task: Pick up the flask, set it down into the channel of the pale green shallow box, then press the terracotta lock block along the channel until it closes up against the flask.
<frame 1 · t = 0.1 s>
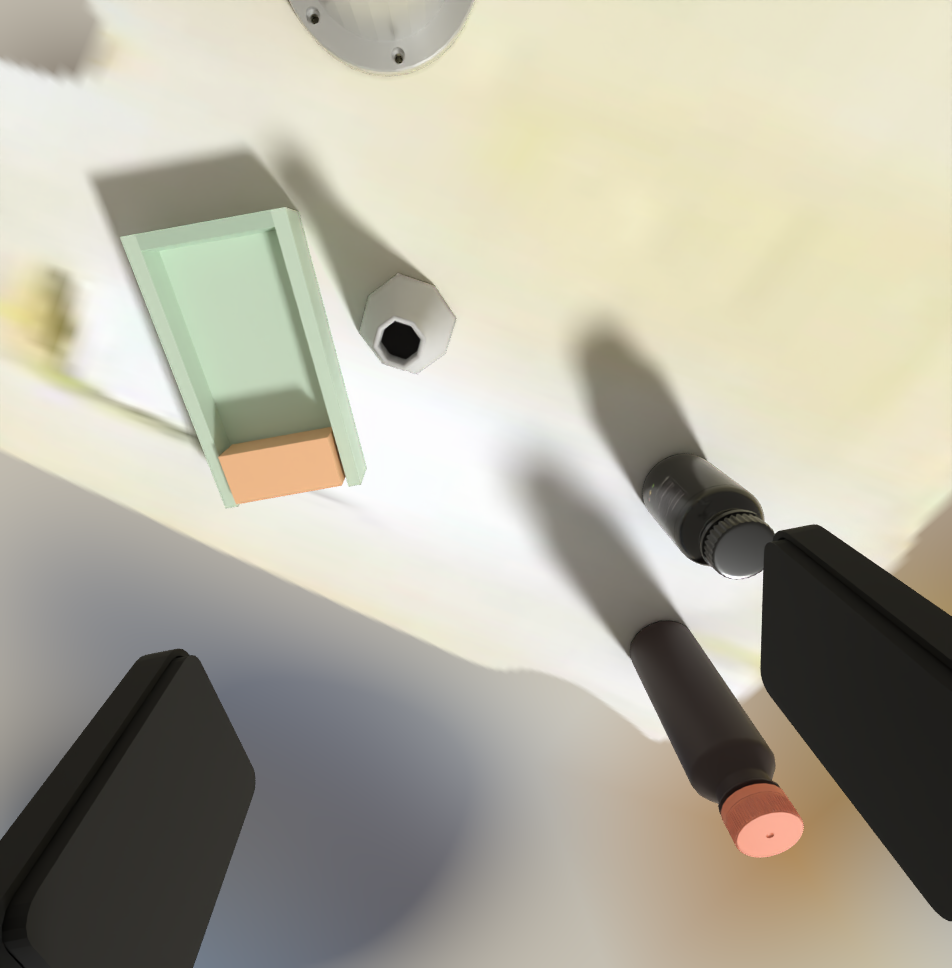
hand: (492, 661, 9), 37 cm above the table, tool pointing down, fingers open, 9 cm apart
flask: (408, 324, 42), on the table
pale green shallow box: (267, 363, 42), on the table
supplement bottle: (675, 485, 49), on the table
lock block: (286, 464, 42), point 3 cm above the table, slide at 0.0 cm
vinegar: (659, 644, 56), on the table
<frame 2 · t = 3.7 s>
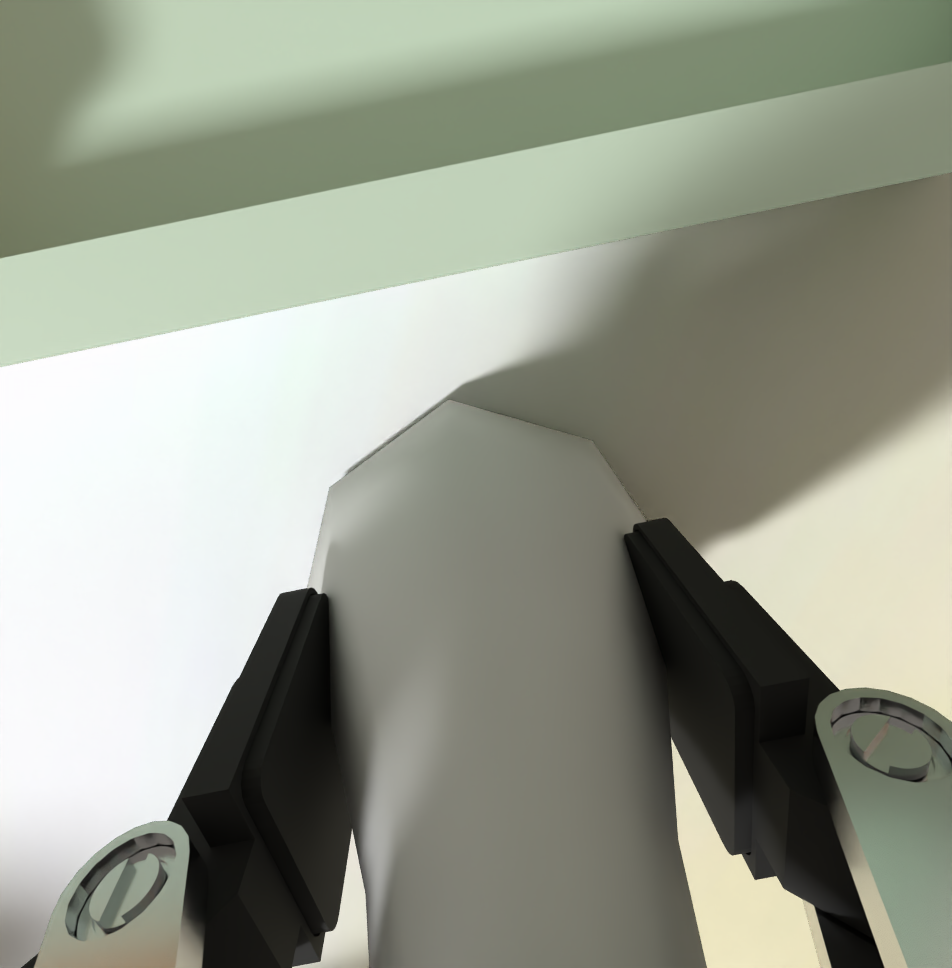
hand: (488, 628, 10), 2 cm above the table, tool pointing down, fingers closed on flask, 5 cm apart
flask: (480, 564, 12), on the table, touching gripper
when the fingers open (5 cm above the table, at t = 8.4 s): flask drops 2 cm, resting on pale green shallow box.
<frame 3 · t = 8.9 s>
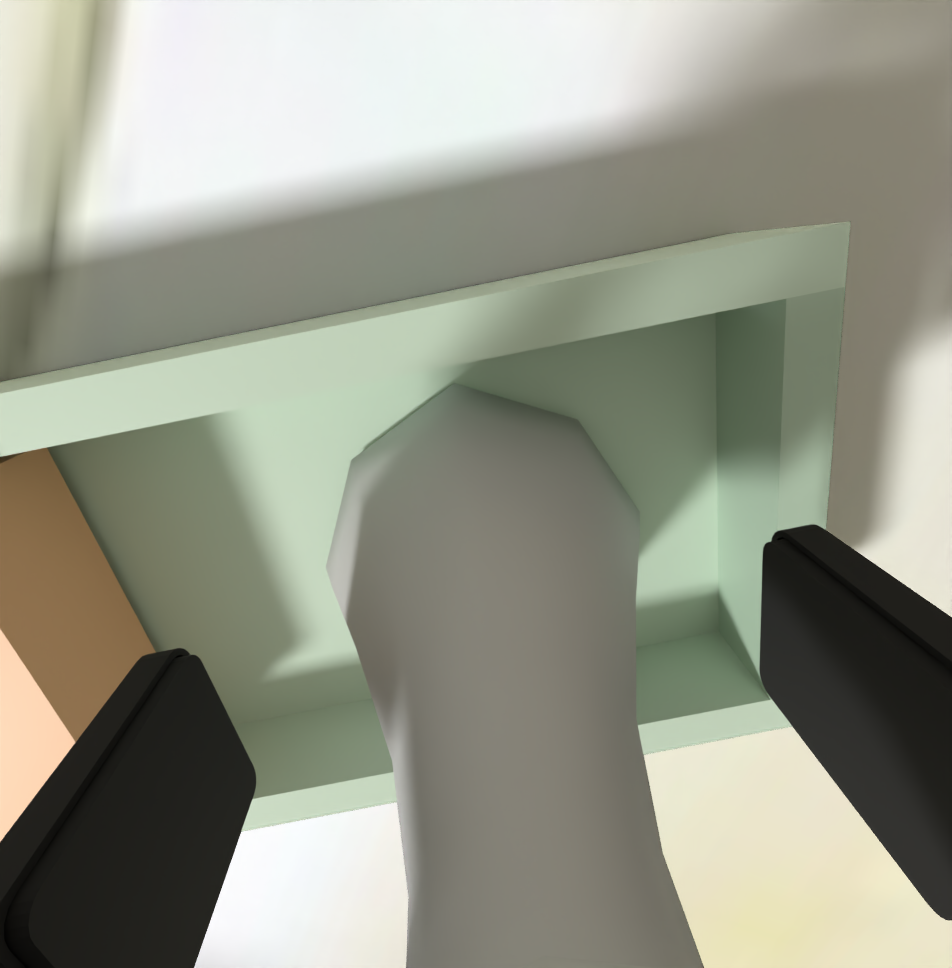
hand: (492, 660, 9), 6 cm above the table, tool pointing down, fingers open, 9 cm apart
flask: (481, 530, 13), point 1 cm above the table, touching pale green shallow box
pale green shallow box: (361, 532, 14), on the table
lock block: (4, 664, 12), point 3 cm above the table, slide at 0.0 cm
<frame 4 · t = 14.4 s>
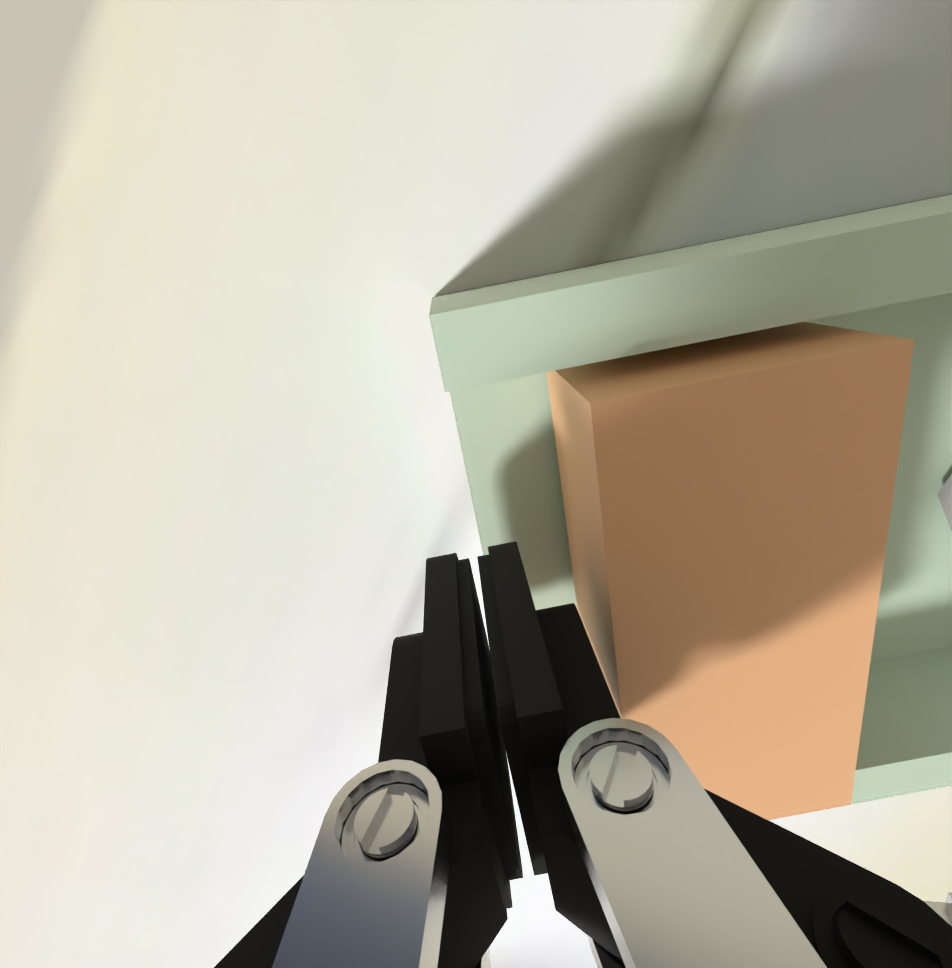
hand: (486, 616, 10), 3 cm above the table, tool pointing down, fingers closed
pale green shallow box: (912, 462, 12), on the table
lock block: (701, 588, 10), point 3 cm above the table, slide at 1.2 cm, touching gripper
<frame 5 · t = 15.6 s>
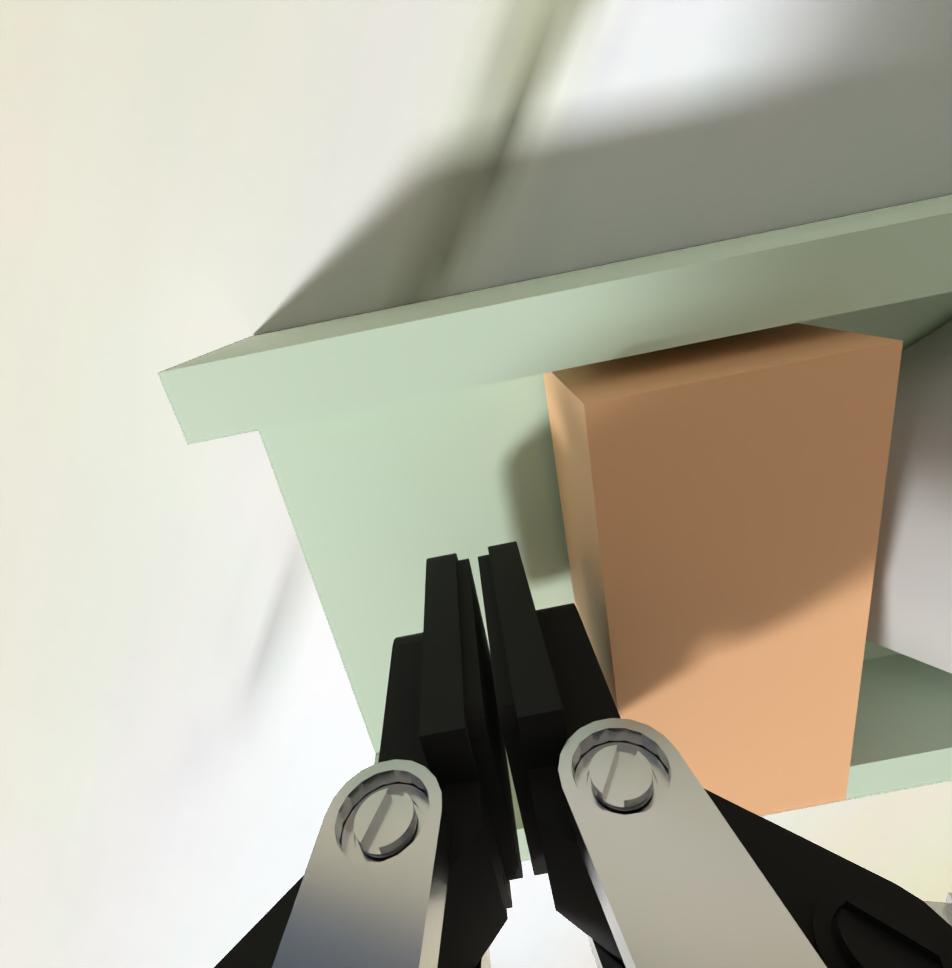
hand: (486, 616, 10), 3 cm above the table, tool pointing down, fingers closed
flask: (924, 485, 11), point 1 cm above the table, touching pale green shallow box
pale green shallow box: (754, 491, 12), on the table
lock block: (697, 586, 10), point 3 cm above the table, slide at 4.8 cm, touching gripper
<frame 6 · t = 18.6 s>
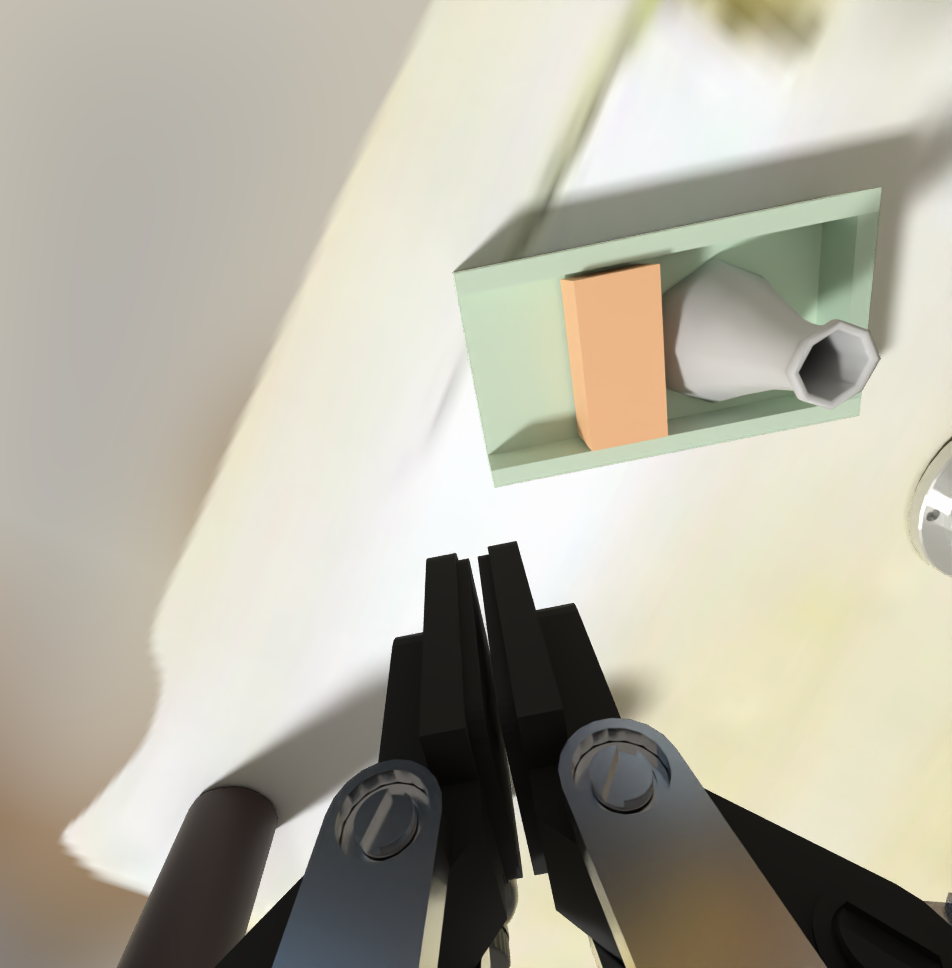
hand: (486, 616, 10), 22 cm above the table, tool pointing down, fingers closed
flask: (708, 333, 29), point 1 cm above the table, touching pale green shallow box
pale green shallow box: (645, 340, 30), on the table
supplement bottle: (462, 786, 43), on the table
lock block: (614, 358, 27), point 3 cm above the table, slide at 4.8 cm
vinegar: (236, 811, 43), on the table
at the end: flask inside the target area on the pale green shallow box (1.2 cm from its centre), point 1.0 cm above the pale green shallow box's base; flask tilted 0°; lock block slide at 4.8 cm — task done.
